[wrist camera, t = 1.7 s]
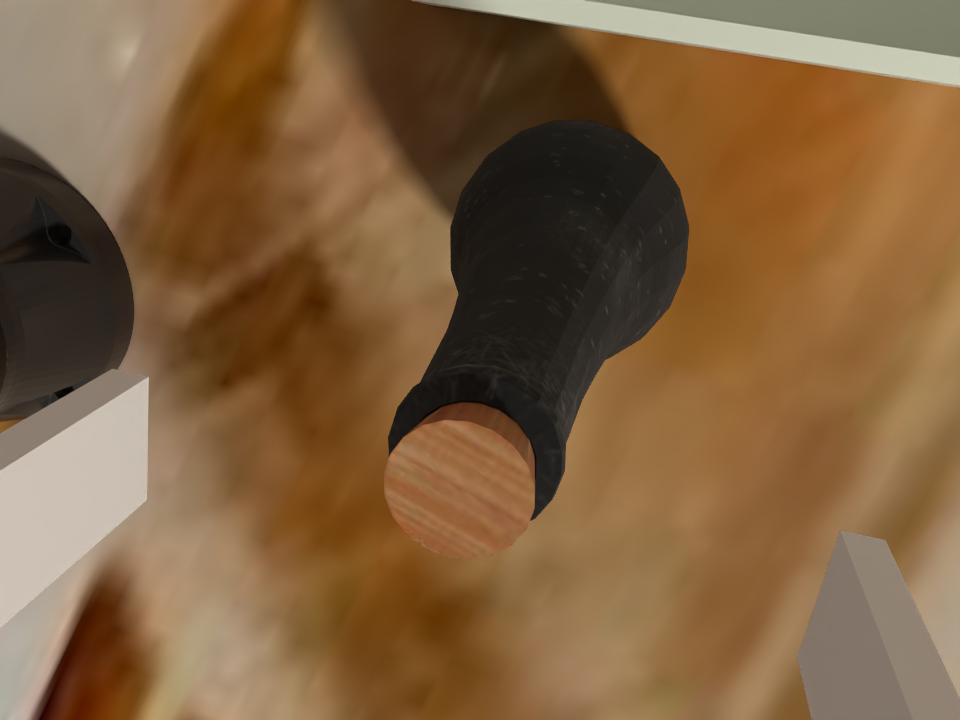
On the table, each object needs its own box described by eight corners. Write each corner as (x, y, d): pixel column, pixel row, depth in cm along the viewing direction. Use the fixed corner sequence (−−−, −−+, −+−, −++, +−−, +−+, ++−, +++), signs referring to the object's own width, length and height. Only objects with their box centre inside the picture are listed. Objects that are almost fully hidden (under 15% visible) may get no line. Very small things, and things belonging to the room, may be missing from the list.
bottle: (536, 72, 43) (323, 108, 15) (726, 177, 43) (864, 406, 15) (443, 257, 47) (137, 558, 19) (617, 353, 47) (565, 795, 19)
